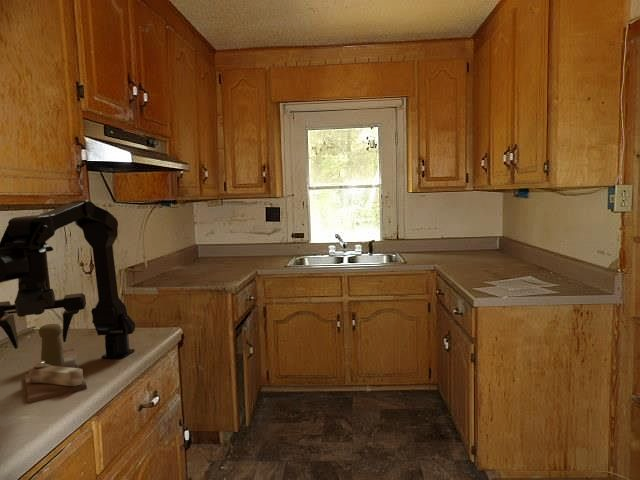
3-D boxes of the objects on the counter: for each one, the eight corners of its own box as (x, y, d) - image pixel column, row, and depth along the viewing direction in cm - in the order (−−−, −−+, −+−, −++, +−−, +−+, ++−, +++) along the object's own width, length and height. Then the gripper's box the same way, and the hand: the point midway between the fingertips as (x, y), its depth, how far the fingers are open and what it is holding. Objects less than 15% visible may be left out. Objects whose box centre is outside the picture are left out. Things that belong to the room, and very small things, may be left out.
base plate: (25, 378, 117) (24, 374, 117) (76, 367, 123) (76, 363, 123) (28, 402, 102) (28, 398, 102) (86, 388, 109) (86, 384, 109)
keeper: (35, 388, 110) (33, 364, 109) (32, 379, 116) (30, 356, 116) (79, 378, 115) (77, 354, 115) (74, 369, 122) (72, 347, 121)
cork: (60, 359, 131) (56, 320, 129) (70, 363, 127) (66, 323, 126) (36, 365, 126) (32, 325, 125) (45, 370, 122) (41, 329, 121)
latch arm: (25, 382, 111) (24, 369, 111) (41, 375, 115) (40, 363, 115) (73, 387, 106) (72, 375, 106) (89, 380, 110) (87, 367, 110)
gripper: (-31, 286, 91) (-21, 364, 92) (77, 275, 97) (85, 348, 99) (-14, 277, 101) (-6, 347, 102) (82, 268, 108) (89, 334, 109)
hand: (41, 344), depth 103 cm, fingers open, 9 cm apart
